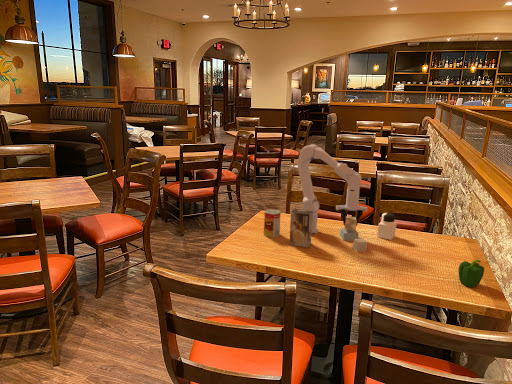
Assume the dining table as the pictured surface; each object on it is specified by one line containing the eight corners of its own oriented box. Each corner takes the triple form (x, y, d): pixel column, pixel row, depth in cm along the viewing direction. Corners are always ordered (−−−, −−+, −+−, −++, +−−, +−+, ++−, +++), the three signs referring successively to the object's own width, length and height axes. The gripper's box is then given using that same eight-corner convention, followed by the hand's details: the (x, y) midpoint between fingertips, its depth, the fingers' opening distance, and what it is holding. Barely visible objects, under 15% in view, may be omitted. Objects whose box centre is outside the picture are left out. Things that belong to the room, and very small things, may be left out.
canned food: (269, 230, 190) (270, 208, 187) (282, 234, 186) (283, 211, 183) (260, 234, 184) (261, 211, 181) (273, 238, 180) (274, 215, 177)
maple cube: (345, 229, 180) (346, 219, 179) (344, 225, 185) (345, 216, 183) (355, 230, 179) (356, 220, 178) (354, 226, 184) (355, 217, 183)
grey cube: (357, 251, 167) (358, 242, 166) (352, 247, 171) (353, 238, 170) (366, 251, 168) (367, 242, 167) (362, 247, 172) (363, 238, 171)
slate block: (343, 240, 180) (344, 233, 179) (340, 235, 187) (340, 228, 186) (357, 241, 180) (358, 233, 179) (353, 235, 187) (354, 228, 186)
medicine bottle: (394, 236, 188) (397, 213, 185) (391, 240, 182) (394, 217, 179) (380, 233, 191) (383, 210, 188) (376, 237, 185) (379, 214, 182)
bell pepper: (457, 286, 138) (462, 262, 135) (455, 277, 145) (459, 253, 143) (483, 291, 135) (488, 266, 133) (479, 281, 143) (484, 257, 140)
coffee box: (311, 243, 175) (313, 210, 171) (308, 248, 170) (310, 214, 166) (292, 240, 179) (294, 208, 175) (288, 244, 173) (290, 211, 169)
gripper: (338, 199, 175) (335, 226, 178) (369, 200, 174) (366, 228, 177) (336, 195, 182) (334, 221, 185) (366, 197, 181) (364, 223, 184)
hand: (350, 224), depth 182 cm, fingers closed on maple cube, 5 cm apart
